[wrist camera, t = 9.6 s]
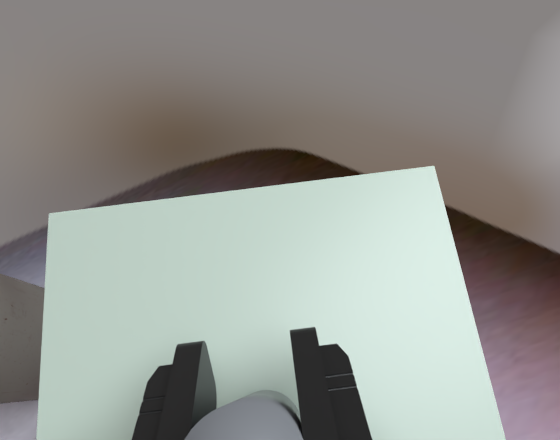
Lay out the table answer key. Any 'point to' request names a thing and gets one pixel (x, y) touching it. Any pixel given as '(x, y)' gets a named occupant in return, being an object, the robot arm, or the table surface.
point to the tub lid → (265, 308)
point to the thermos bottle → (20, 339)
